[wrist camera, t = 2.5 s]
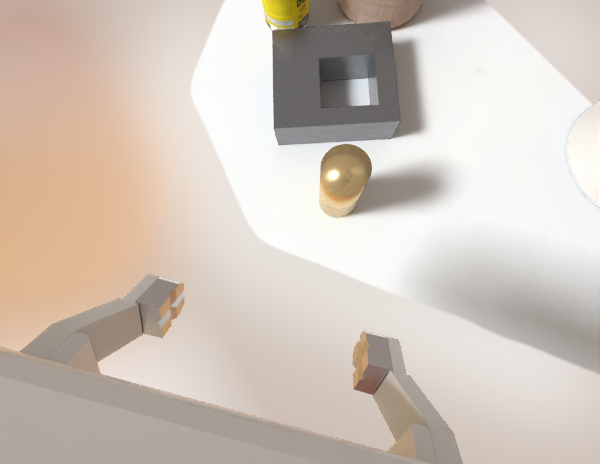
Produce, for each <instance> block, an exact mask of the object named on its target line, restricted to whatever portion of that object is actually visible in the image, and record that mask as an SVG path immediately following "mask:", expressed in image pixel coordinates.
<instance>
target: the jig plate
mask: <svg viewBox="0 0 600 464" xmlns="http://www.w3.org/2000/svg"><path fill="white" fill-rule="evenodd" d="M272 35H273V103H274V131H275V135H276V138H277V142H278V145H286V144H304V143H322V142H340V141H358V140H376V139H391V138H392V136H393V134H394V132H395V130H396V128H397V127H398V125H399V123H400V113H399V103H398V93H397V83H396V73H395V64H394V54H393V44H392V34H391V24H390V21H385V22H372V23H359V24H346V25H333V26H320V27H307V28H294V29H281V30H272ZM360 78H368V80H369V93H370V105H367V106H351V107H335V108H321V98H320V81H330V80H345V79H360Z"/></svg>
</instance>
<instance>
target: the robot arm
mask: <svg viewBox="0 0 600 464" xmlns="http://www.w3.org/2000/svg"><path fill="white" fill-rule="evenodd" d="M567 159H568V164H569V168H570V171H571V173H572V175H573V177H574V179H575V181H576V183H577V185H578V186H579V188H580V189H581V190H582V191H583V193H584V194H585V195H586V196H587V197H588V198H589V199H590V200H591V201H592V202H593V203H594V204H595V205H597V206H598V207H599V208H600V100H599V101H598V102H597V103H596V104H595V105H593V106H592V107H590V108H589V109H587V110H586V111H585V112H584V113H583V114H582V115H581V116H580V117H579V118H578V119H577V120H576V122H575V123H574V125H573V127H572V129H571V131H570V134H569V137H568V141H567ZM183 290H184V284H183V283H181V282H177V281H174V280H171V279H167V278H163V277H160V276H156V275H153V274H148V275H146V276H145V277H144V278H143V279H142V280H141V281H140V282H139V283H138V284H137V285H136V286H135V287H134V288H133V289H132V290H131V291H130V292H129V293H128V294H127V295H126V296H125V297H124V298H123V299H120V298H119V299H116V300H114V301H111V302H108V303H106V304H103V305H101V306H98V307H95V308H93V309H90V310H88V311H85V312H83V313H80V314H77V315H75V316H72V317H70V318H67V319H65V320H62V321H59V322H57V323H54V324H52V325H51V326H49V327H48V328H47V329H46V330H45V331H44V332H42V333H41V334H40V335H39V336H38V337H36V338H35V339H34V340H33V341H32V342H31V343H29V344H28V345H27V346H26V347H25V348H24V349H22V350H21V351H20V352H18V351H14V350H10V349H7V348H3V347H0V464H463V463H462V460H461V457H460V453H459V449H458V446H457V443H456V440H455V437H454V433H453V431H452V430H451V429H450V428H449V426H448V425H447V424H446V422H445V421H444V420H443V418H442V417H441V416H440V414H439V413H438V412H437V411H436V409H435V408H434V407H433V405H432V404H431V403H430V401H429V400H428V399H427V397H426V396H425V395H424V394H423V392H422V391H421V390H420V388H419V387H418V386H417V384H416V383H415V382H414V381H413V379H412V378H411V376H409V375H406V370H405V365H404V360H403V356H402V351H401V346H400V342H399V340H398V339H394V338H391V337H386V336H383V335H379V334H375V333H371V332H367V331H363V332H362V334H361V336H360V339H361V341H359V342H357V344H356V346H355V348H354V353H353V365H354V367H355V368H356V370H355V372H354V373H353V382H354V383H353V384H354V389H355V390H358V391H362V392H365V393H368V394H371V395H373V397H374V399H375V401H376V403H377V405H378V407H379V409H380V411H381V413H382V415H383V417H384V419H385V420H386V422H387V424H388V426H389V428H390V430H391V432H392V434H393V436H394V438H395V440H396V443H395V444H394V445H393V446H392V447H391V449H390V450H389V451H388V452H387V451H383V450H379V449H375V448H372V447H368V446H364V445H361V444H357V443H353V442H350V441H346V440H342V439H339V438H335V437H331V436H327V435H324V434H320V433H316V432H312V431H309V430H305V429H302V428H297V427H294V426H291V425H287V424H283V423H279V422H276V421H272V420H268V419H265V418H261V417H257V416H254V415H250V414H246V413H243V412H239V411H235V410H232V409H228V408H224V407H220V406H217V405H213V404H209V403H206V402H202V401H198V400H194V399H190V398H187V397H183V396H180V395H175V394H172V393H169V392H165V391H161V390H158V389H154V388H150V387H146V386H143V385H139V384H135V383H132V382H128V381H124V380H121V379H117V378H113V377H110V376H106V375H102V374H100V370H99V367H98V363H97V362H98V361H100V360H102V359H103V358H105V357H107V356H108V355H110V354H111V353H113V352H115V351H117V350H118V349H120V348H121V347H123V346H125V345H126V344H128V343H130V342H131V341H133V340H135V339H136V338H138V337H139V336H141V335H142V334H143V333H144V334H148V335H152V336H156V337H160V338H163V337H164V335H165V334H166V332H167V331H168V329H169V328H170V327H171V320H172V319H175V318H177V316H178V315H179V313H180V312H181V310H182V307H183V304H184V296H183V294H182V292H183Z"/></svg>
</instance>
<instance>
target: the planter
mask: <svg viewBox="0 0 600 464" xmlns="http://www.w3.org/2000/svg"><path fill="white" fill-rule="evenodd" d="M338 2H339V5H340V7H341V9H342V11H343V12H344V14H345V15H346V16H347V17H348V18H349V19H351V20H352V21H353V22H355V23H357V24H359V23H372V22H385V21H390V24H391V28H393V27H397V26H399V25H402V24H404V23H405V22H407V21H409V20H410V19H411V18H412V17H414V16H415V14H416V13H417V12H418V11H419V9H420V7H421V6H422V4H423V2H424V0H338Z"/></svg>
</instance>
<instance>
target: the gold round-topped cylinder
mask: <svg viewBox="0 0 600 464" xmlns="http://www.w3.org/2000/svg"><path fill="white" fill-rule="evenodd" d="M371 171H372V165H371V161H370V158H369V157H368V155H367V154H366V152H365V151H363V150H362V149H361V148H359V147H357V146H355V145H350V144H342V145H338V146H335V147H333V148H332V149H330V150H329V151H328V152H327V153H326V154H325V156H324V157H323V159H322V162H321V173H320V197H319V202H320V206H321V208H322V210H323V211H324V212H325V213H326V214H327V215H329V216H331V217H336V218H339V217H344V216H346V215H348V214H349V213H350V212H351V211H352V210H353V208H354V206H355V204H356V203H357V201H358V199H359V197H360V195H361V193H362V191H363V189H364V187H365V186H366V184H367V182H368V180H369V178H370V176H371Z"/></svg>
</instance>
